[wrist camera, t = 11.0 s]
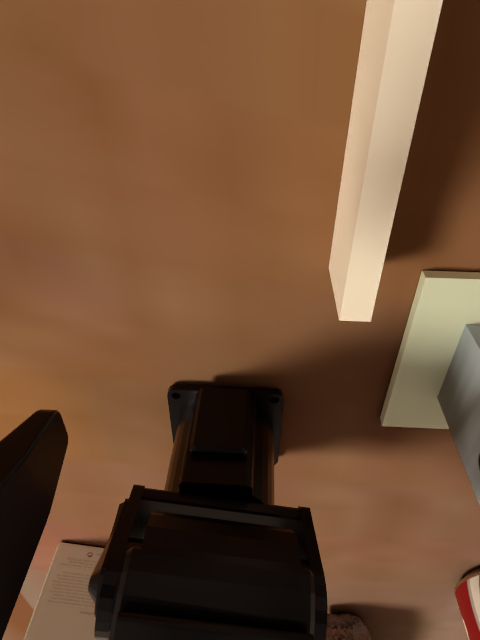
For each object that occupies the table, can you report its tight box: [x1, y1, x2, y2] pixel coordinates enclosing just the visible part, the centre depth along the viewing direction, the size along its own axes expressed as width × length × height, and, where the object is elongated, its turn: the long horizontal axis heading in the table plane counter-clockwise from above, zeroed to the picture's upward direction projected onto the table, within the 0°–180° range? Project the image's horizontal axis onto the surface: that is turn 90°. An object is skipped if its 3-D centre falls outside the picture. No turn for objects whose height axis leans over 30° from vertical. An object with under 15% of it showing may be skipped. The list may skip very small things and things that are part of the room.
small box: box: [24, 542, 104, 640], centre depth 36 cm, size 8×6×10 cm
